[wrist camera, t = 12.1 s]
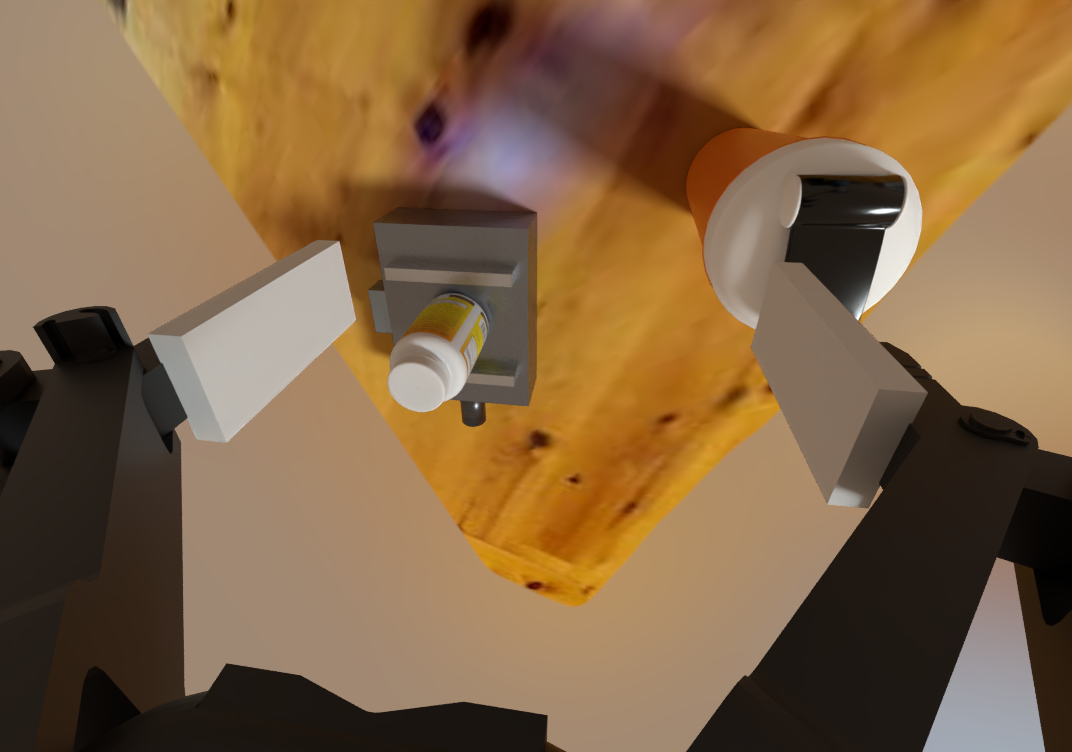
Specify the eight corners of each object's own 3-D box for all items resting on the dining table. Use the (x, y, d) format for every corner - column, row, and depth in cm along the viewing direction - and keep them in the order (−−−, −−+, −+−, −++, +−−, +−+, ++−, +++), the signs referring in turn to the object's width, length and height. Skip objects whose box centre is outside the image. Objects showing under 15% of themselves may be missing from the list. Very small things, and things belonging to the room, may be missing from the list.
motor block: (375, 206, 42) (339, 226, 36) (537, 212, 40) (524, 235, 35) (407, 398, 52) (382, 436, 47) (536, 410, 51) (526, 450, 45)
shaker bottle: (674, 245, 40) (716, 370, 23) (670, 125, 35) (718, 172, 19) (793, 230, 38) (932, 354, 21) (804, 100, 34) (991, 129, 17)
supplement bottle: (412, 311, 41) (357, 374, 32) (462, 278, 39) (417, 336, 30) (454, 361, 43) (413, 433, 34) (503, 332, 41) (473, 401, 32)
